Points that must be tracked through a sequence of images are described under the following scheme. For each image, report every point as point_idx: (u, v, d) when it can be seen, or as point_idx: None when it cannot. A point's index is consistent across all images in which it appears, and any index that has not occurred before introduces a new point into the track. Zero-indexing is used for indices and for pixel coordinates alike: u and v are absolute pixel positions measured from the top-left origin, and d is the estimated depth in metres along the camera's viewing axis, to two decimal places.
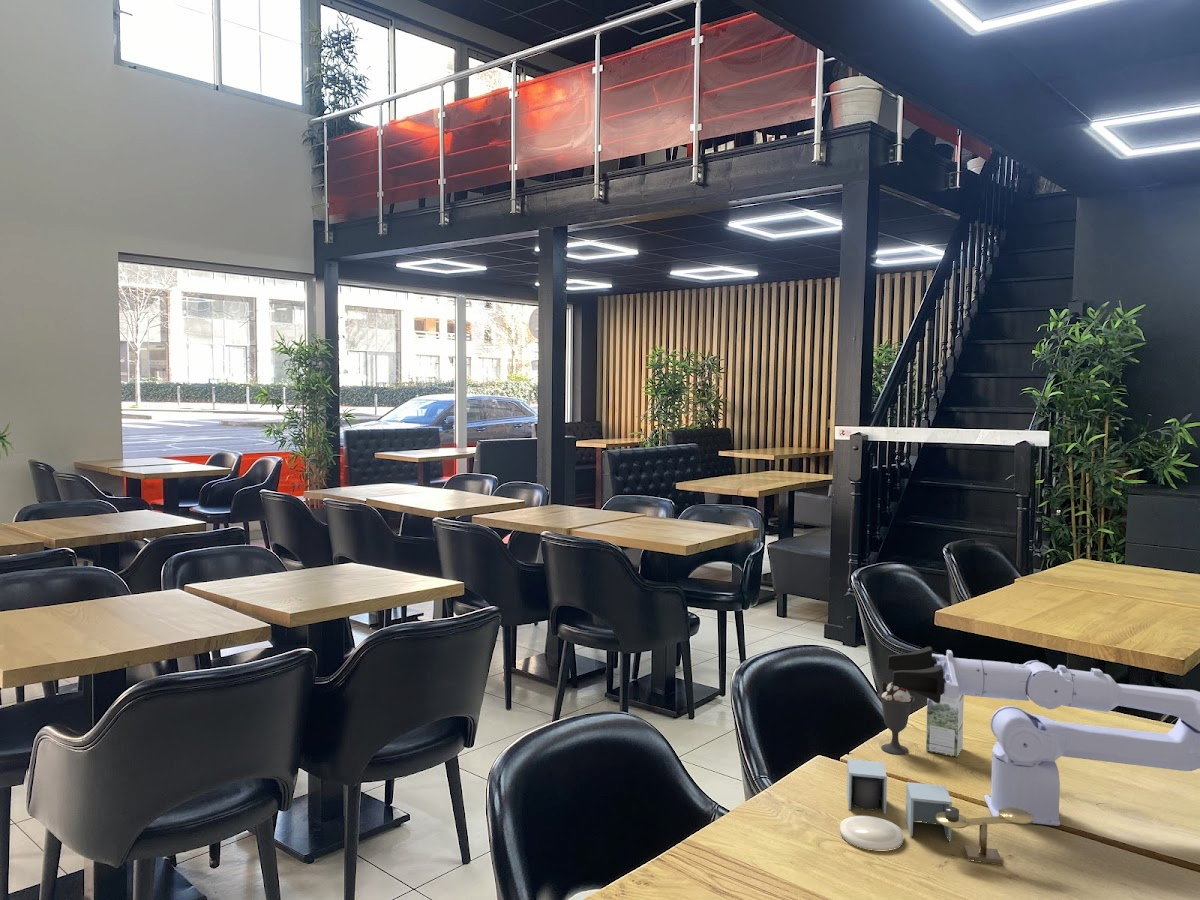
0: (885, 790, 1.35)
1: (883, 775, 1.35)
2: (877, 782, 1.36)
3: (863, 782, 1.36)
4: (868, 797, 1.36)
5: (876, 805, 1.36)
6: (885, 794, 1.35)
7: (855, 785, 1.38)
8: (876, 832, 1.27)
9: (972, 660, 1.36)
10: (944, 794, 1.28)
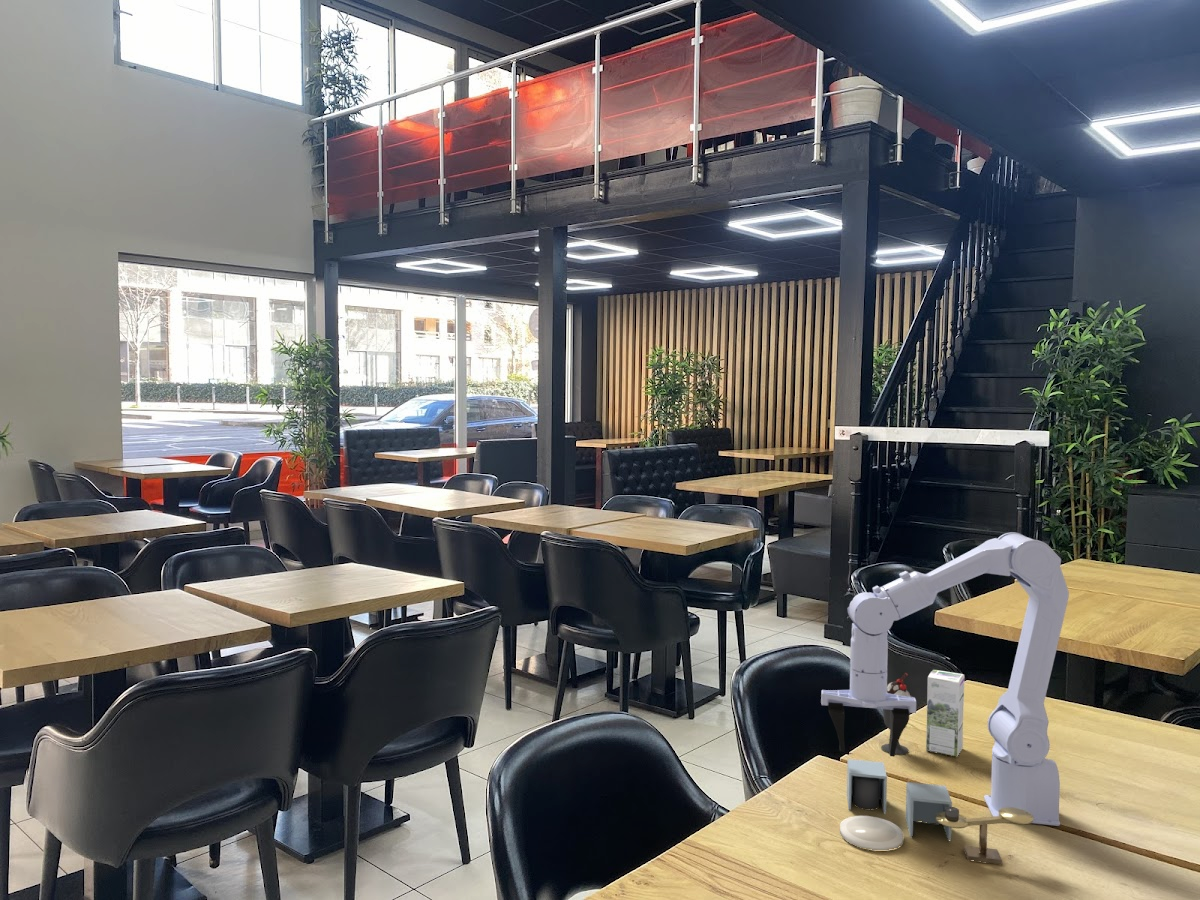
0: (885, 790, 1.35)
1: (883, 775, 1.35)
2: (877, 782, 1.36)
3: (863, 782, 1.36)
4: (868, 797, 1.36)
5: (876, 805, 1.36)
6: (885, 794, 1.35)
7: (855, 785, 1.38)
8: (876, 832, 1.27)
9: (869, 681, 1.35)
10: (944, 794, 1.28)
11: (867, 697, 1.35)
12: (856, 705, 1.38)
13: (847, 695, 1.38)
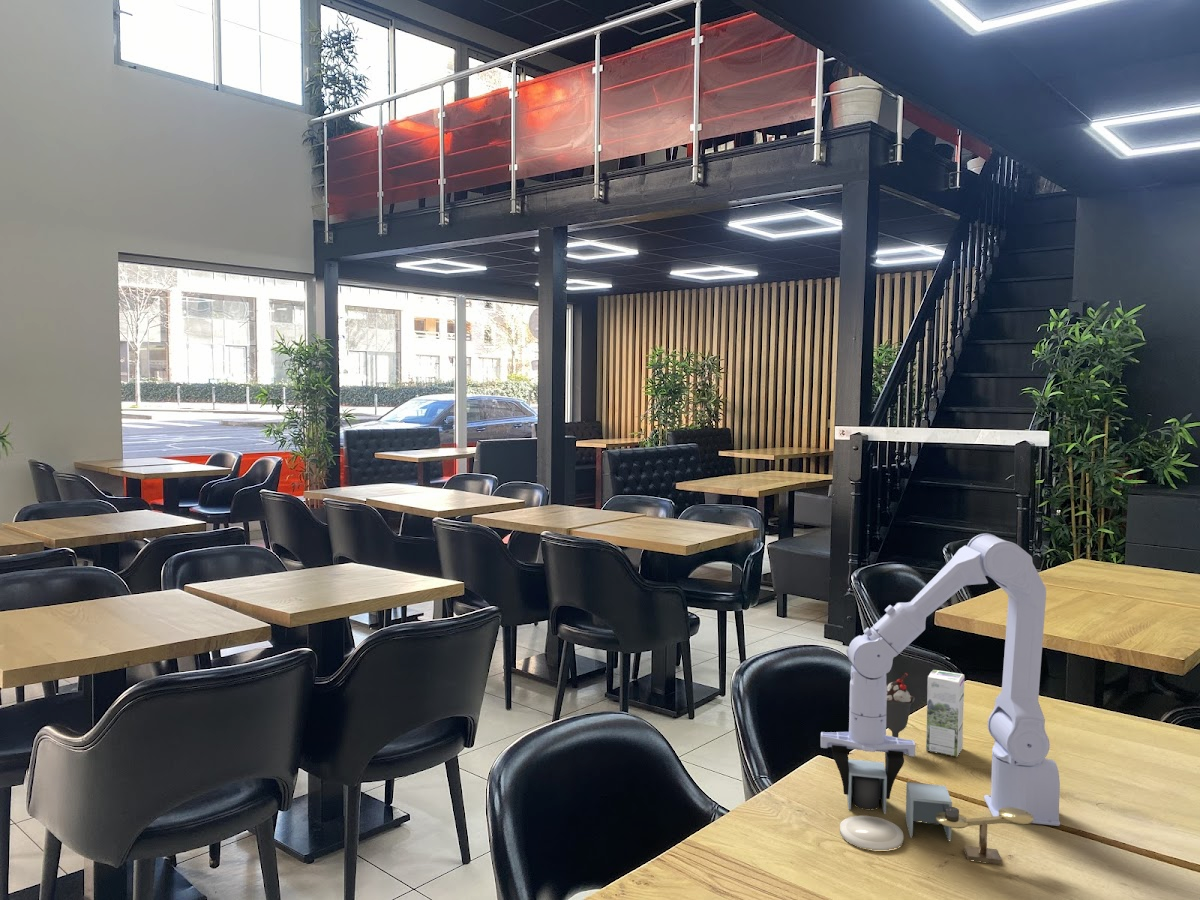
0: (885, 790, 1.35)
1: (883, 775, 1.35)
2: (877, 782, 1.36)
3: (863, 782, 1.36)
4: (868, 797, 1.36)
5: (876, 805, 1.36)
6: (885, 794, 1.35)
7: (855, 785, 1.38)
8: (876, 832, 1.27)
9: (868, 725, 1.35)
10: (944, 794, 1.28)
11: (866, 741, 1.35)
12: (855, 748, 1.38)
13: (846, 738, 1.38)
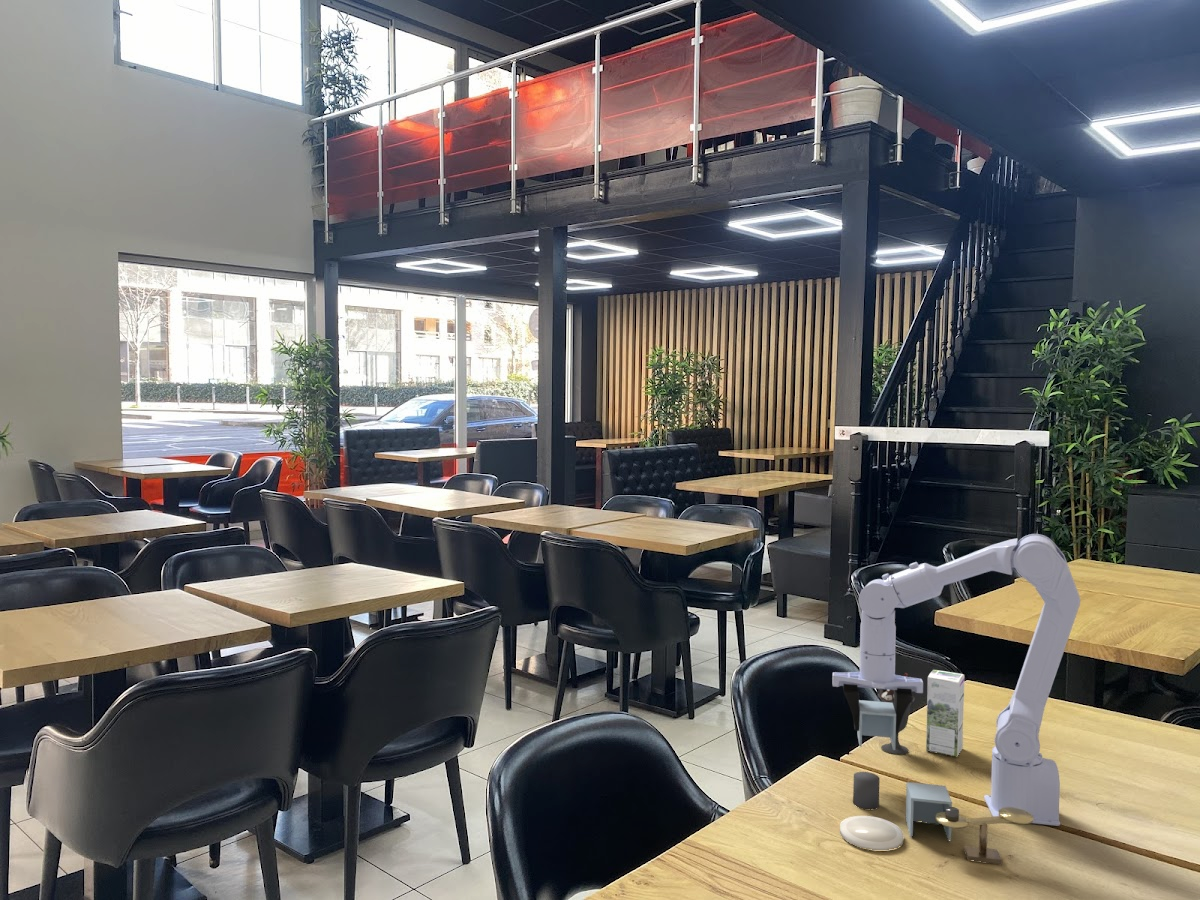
0: (894, 727, 1.41)
1: (892, 713, 1.42)
2: (877, 782, 1.36)
3: (863, 782, 1.36)
4: (868, 797, 1.36)
5: (876, 805, 1.36)
6: (894, 731, 1.41)
7: (855, 785, 1.38)
8: (876, 832, 1.27)
9: (878, 663, 1.42)
10: (944, 794, 1.28)
11: (876, 678, 1.42)
12: (866, 686, 1.45)
13: (857, 677, 1.45)
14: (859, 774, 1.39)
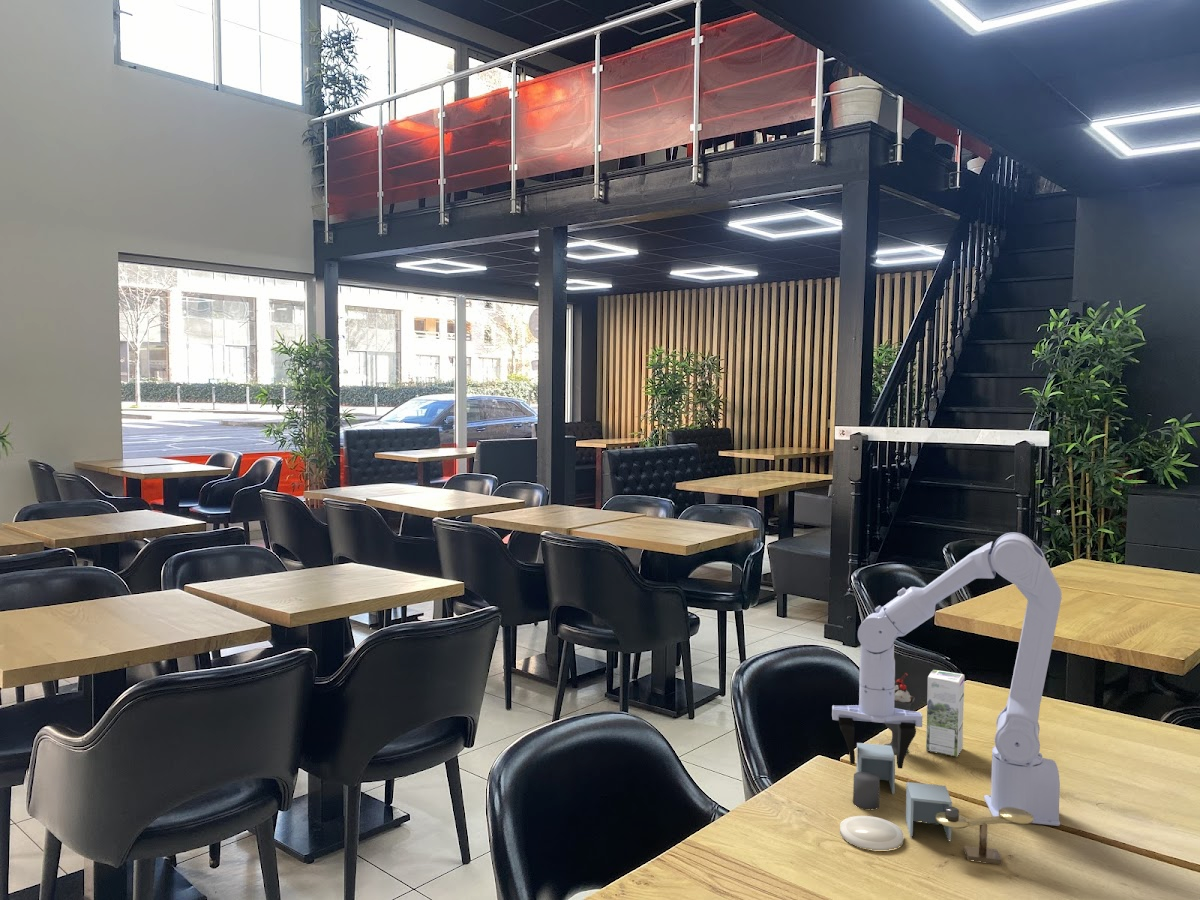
0: (893, 771, 1.42)
1: (891, 757, 1.42)
2: (877, 782, 1.36)
3: (863, 782, 1.36)
4: (868, 797, 1.36)
5: (876, 805, 1.36)
6: (893, 775, 1.42)
7: (855, 785, 1.38)
8: (876, 832, 1.27)
9: (878, 697, 1.42)
10: (944, 794, 1.28)
11: (876, 712, 1.42)
12: (865, 720, 1.45)
13: (857, 710, 1.45)
14: (859, 774, 1.39)
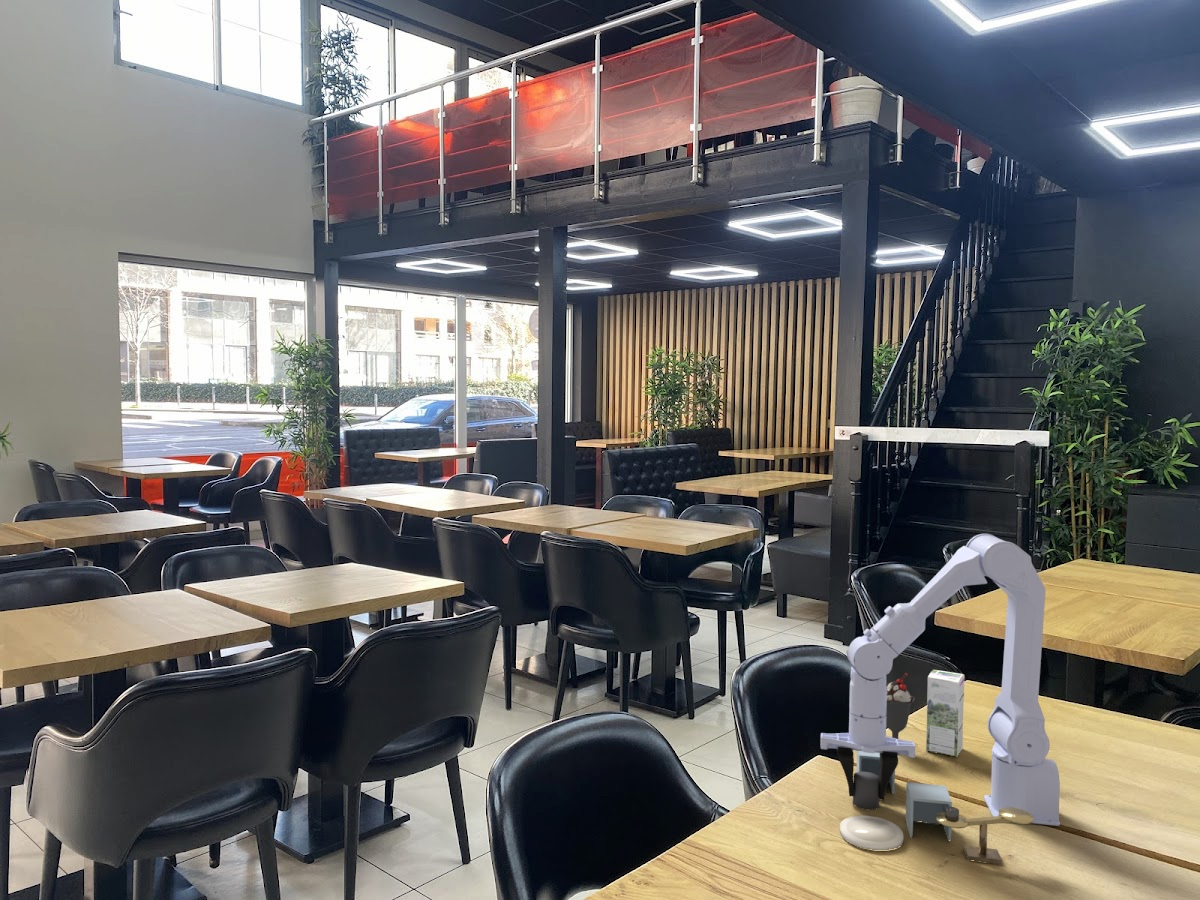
0: None
1: None
2: (877, 782, 1.36)
3: (863, 782, 1.36)
4: (868, 797, 1.36)
5: (876, 805, 1.36)
6: (893, 775, 1.42)
7: (855, 784, 1.38)
8: (876, 832, 1.27)
9: (868, 726, 1.35)
10: (944, 794, 1.28)
11: (866, 742, 1.35)
12: (855, 749, 1.38)
13: (846, 739, 1.38)
14: (859, 774, 1.39)
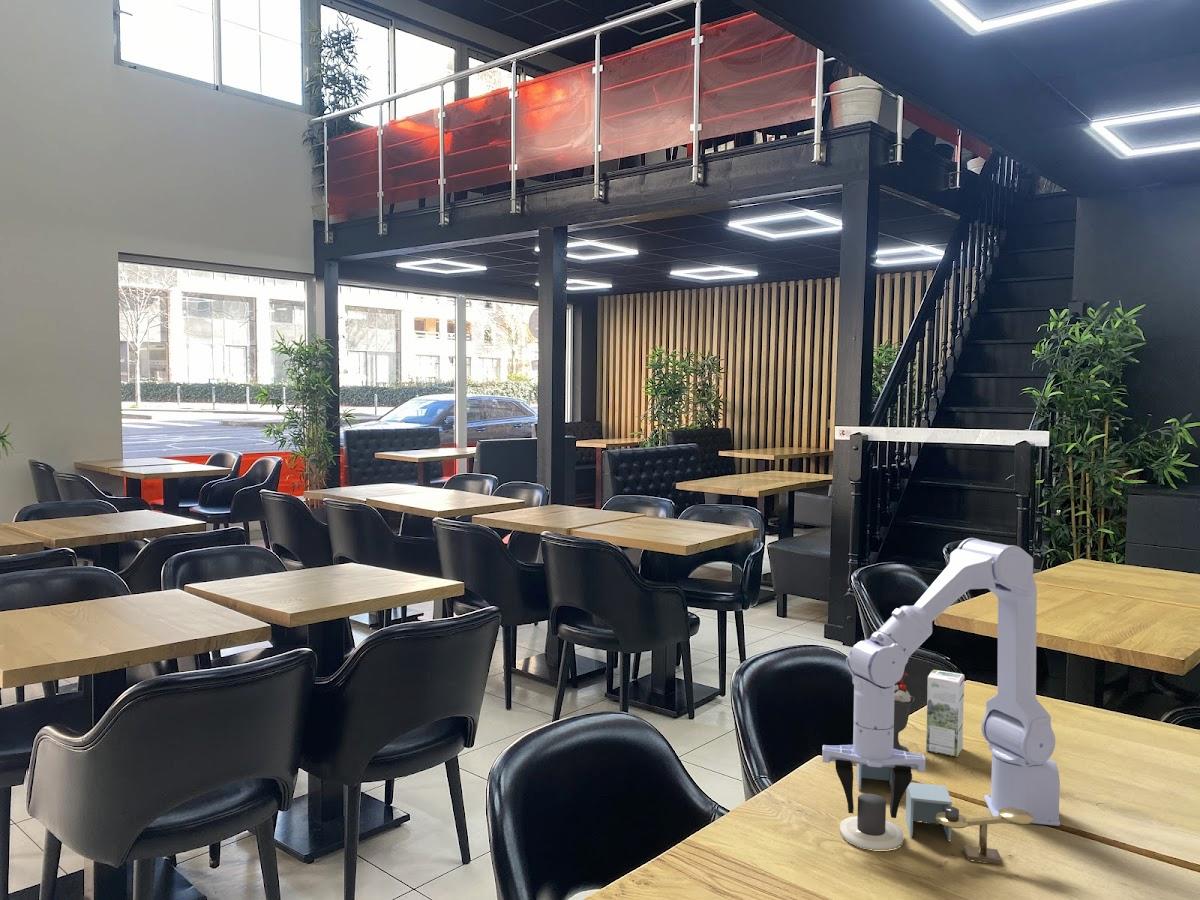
0: None
1: None
2: (883, 806, 1.26)
3: (867, 806, 1.26)
4: (874, 822, 1.25)
5: (882, 831, 1.26)
6: None
7: (859, 808, 1.27)
8: None
9: (874, 738, 1.24)
10: (944, 794, 1.28)
11: (872, 755, 1.24)
12: (860, 762, 1.27)
13: (850, 751, 1.27)
14: (863, 796, 1.28)
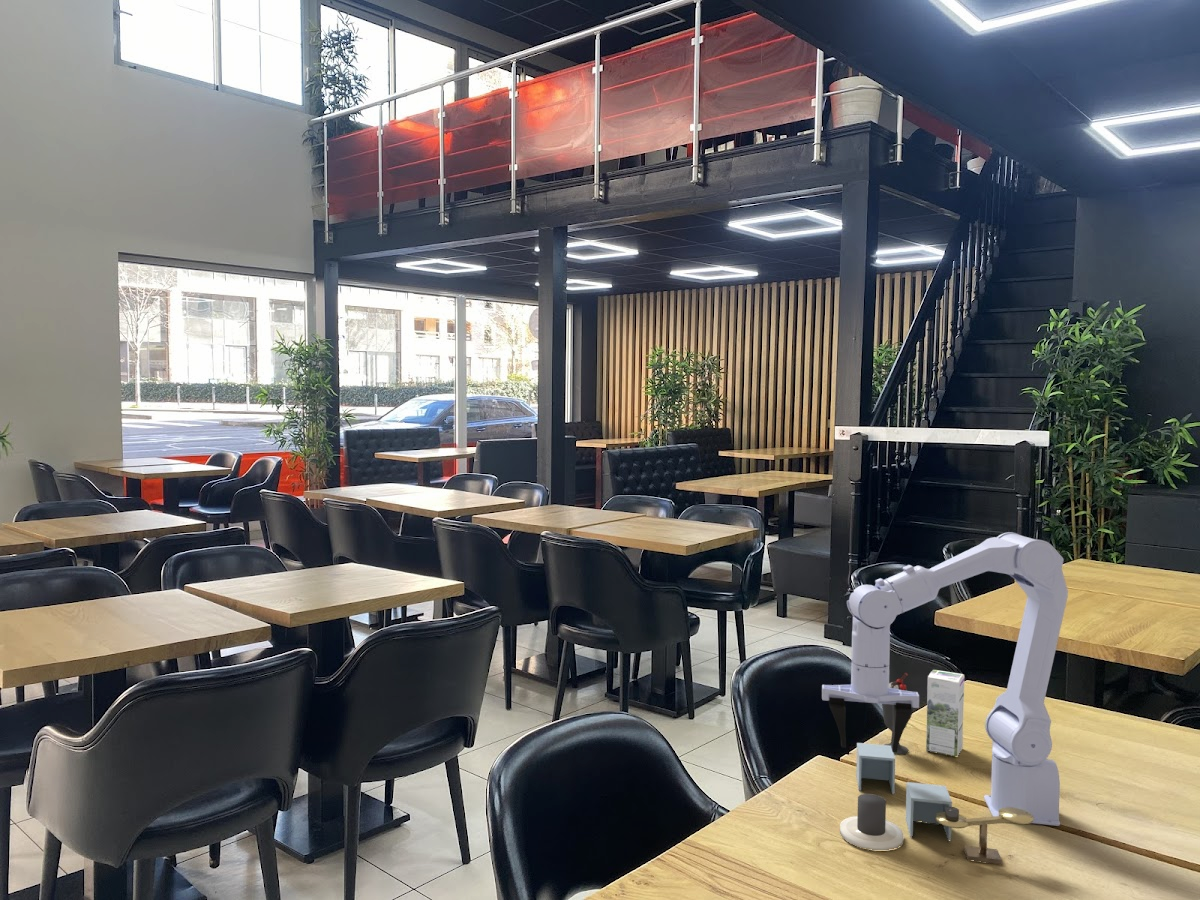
0: (893, 771, 1.42)
1: (891, 757, 1.42)
2: (883, 805, 1.26)
3: (867, 806, 1.26)
4: (874, 822, 1.25)
5: (882, 831, 1.26)
6: (893, 775, 1.42)
7: (859, 808, 1.27)
8: None
9: (871, 675, 1.32)
10: (944, 794, 1.28)
11: (869, 692, 1.32)
12: (858, 700, 1.35)
13: (848, 690, 1.35)
14: (863, 796, 1.28)
